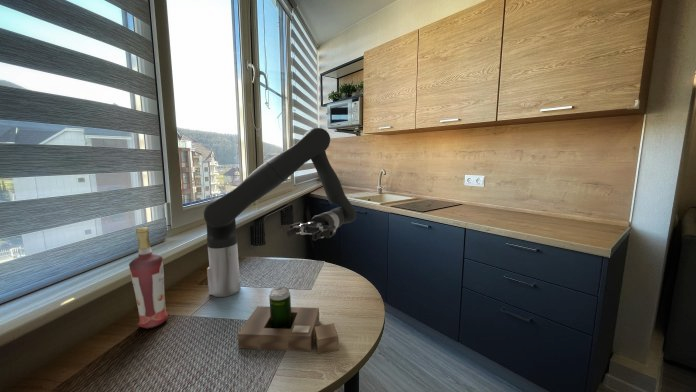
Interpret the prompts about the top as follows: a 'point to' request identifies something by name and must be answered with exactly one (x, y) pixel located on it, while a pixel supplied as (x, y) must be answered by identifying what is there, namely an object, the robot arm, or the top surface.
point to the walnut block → (326, 338)
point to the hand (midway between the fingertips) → (300, 235)
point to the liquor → (148, 283)
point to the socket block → (279, 330)
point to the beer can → (280, 308)
